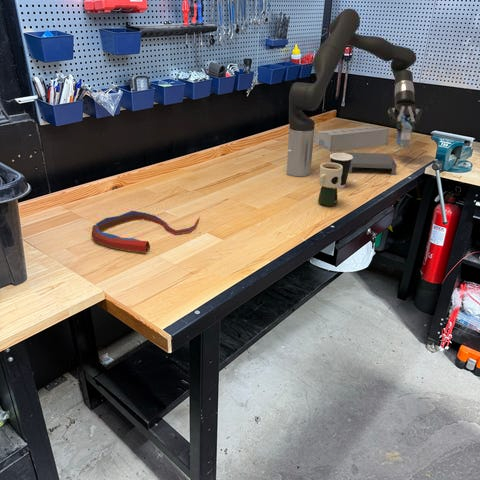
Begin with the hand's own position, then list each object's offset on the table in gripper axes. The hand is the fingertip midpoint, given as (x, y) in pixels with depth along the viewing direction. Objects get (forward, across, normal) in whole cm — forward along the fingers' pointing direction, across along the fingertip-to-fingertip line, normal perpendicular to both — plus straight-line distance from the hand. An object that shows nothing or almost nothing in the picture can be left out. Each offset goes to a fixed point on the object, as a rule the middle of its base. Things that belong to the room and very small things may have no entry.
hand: (405, 131), depth 182 cm
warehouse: (-9, +17, -28) cm, 34 cm away
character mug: (+42, +33, +23) cm, 59 cm away
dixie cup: (+30, +28, +11) cm, 43 cm away
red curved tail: (+60, +87, +39) cm, 113 cm away
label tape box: (+3, 0, -6) cm, 6 cm away
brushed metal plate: (+15, +14, -3) cm, 21 cm away
